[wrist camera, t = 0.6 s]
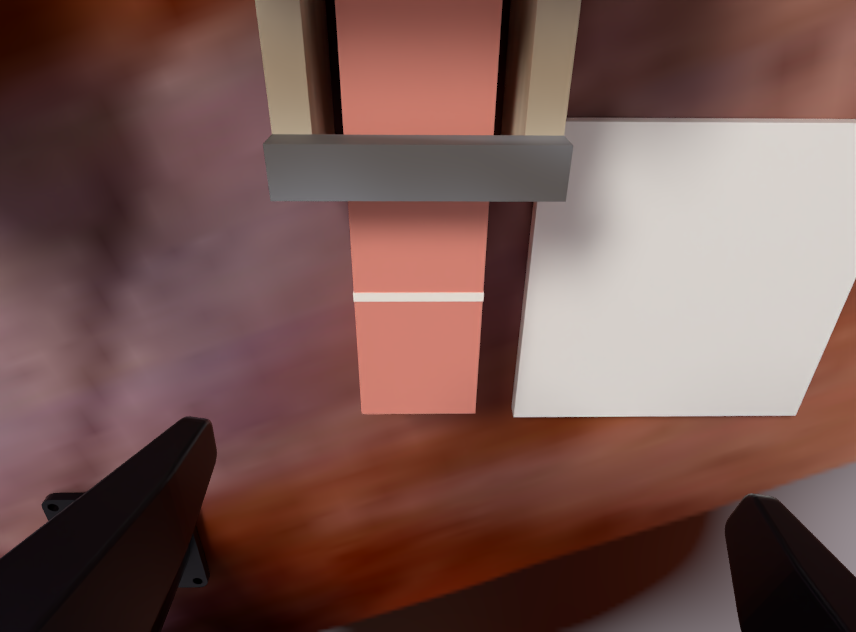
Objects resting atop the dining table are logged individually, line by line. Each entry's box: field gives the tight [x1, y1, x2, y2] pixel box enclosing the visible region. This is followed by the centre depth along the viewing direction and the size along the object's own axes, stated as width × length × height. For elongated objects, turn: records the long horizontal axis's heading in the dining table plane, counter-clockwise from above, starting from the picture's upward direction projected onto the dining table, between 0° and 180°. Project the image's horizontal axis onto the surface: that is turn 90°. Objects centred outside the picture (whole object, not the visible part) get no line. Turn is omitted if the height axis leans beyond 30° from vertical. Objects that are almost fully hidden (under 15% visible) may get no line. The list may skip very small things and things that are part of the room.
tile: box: [512, 117, 856, 417], centre depth 21 cm, size 12×12×1 cm
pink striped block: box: [335, 0, 502, 414], centre depth 18 cm, size 14×4×4 cm, turn 179°
